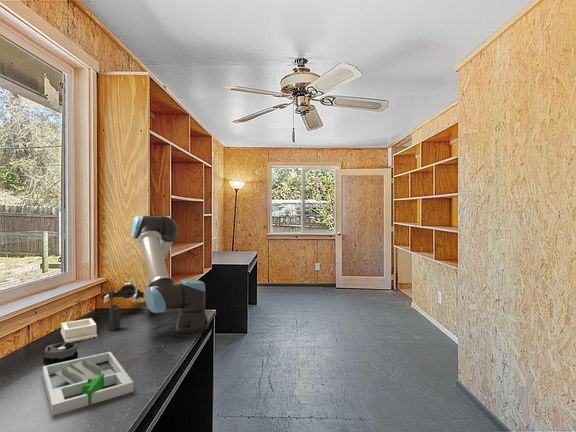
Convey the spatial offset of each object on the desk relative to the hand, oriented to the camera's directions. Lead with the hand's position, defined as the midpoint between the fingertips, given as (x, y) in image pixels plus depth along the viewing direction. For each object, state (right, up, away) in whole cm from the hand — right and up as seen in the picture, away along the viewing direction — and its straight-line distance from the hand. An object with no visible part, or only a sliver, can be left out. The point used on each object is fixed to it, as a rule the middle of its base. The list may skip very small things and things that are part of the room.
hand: (119, 299), depth 175 cm
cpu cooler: (0, -12, -45) cm, 47 cm away
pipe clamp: (+25, -13, -69) cm, 75 cm away
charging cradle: (-10, -12, -18) cm, 23 cm away
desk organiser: (+19, -12, -62) cm, 66 cm away
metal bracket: (+16, -13, -59) cm, 63 cm away
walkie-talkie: (+2, -12, -9) cm, 15 cm away
